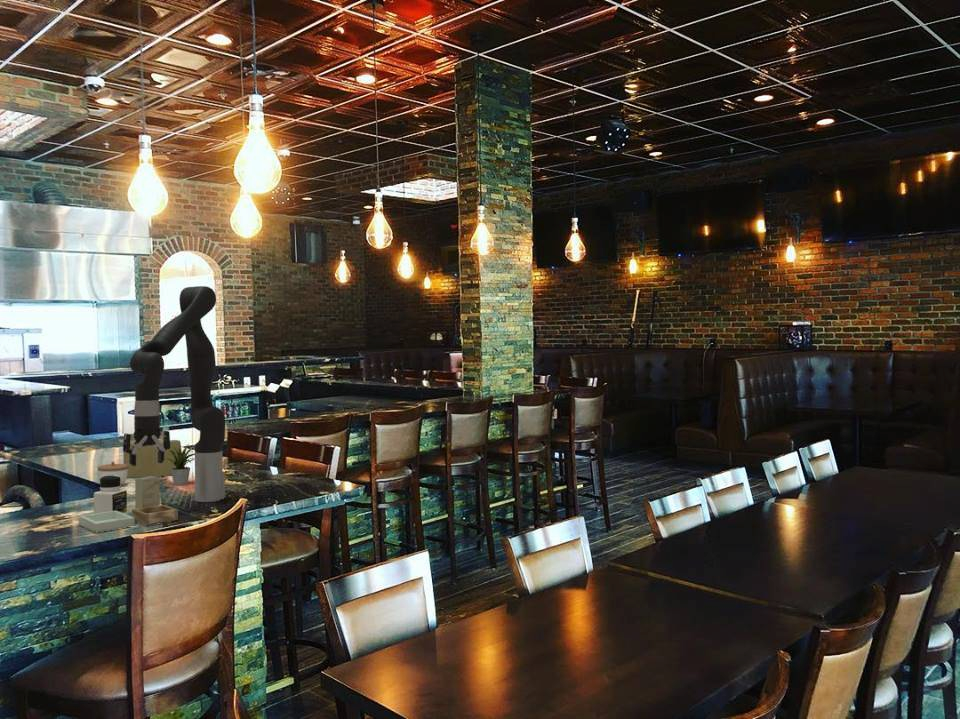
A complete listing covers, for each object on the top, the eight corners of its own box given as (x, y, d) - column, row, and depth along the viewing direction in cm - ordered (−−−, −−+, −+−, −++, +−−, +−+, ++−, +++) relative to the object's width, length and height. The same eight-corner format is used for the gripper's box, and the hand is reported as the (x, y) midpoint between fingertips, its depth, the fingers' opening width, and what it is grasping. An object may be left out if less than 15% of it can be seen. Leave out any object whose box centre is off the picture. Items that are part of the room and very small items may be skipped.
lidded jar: (134, 484, 300) (134, 460, 299) (111, 489, 290) (110, 464, 290) (115, 482, 304) (115, 458, 304) (91, 487, 294) (91, 462, 294)
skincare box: (143, 517, 244) (142, 479, 244) (134, 516, 246) (134, 478, 246) (160, 514, 249) (160, 476, 249) (152, 512, 252) (151, 475, 251)
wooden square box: (163, 515, 247) (163, 504, 246) (177, 521, 240) (177, 509, 240) (132, 521, 239) (131, 509, 239) (145, 526, 232) (145, 514, 232)
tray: (116, 519, 242) (116, 510, 242) (134, 526, 232) (134, 517, 232) (78, 525, 234) (78, 516, 234) (96, 533, 224) (96, 523, 224)
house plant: (185, 488, 292) (185, 446, 291) (153, 487, 294) (152, 444, 294) (206, 482, 306) (206, 441, 305) (175, 480, 308) (174, 440, 308)
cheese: (185, 474, 325) (185, 438, 324) (178, 478, 315) (178, 441, 315) (131, 474, 322) (130, 439, 322) (122, 478, 313) (122, 442, 312)
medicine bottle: (112, 515, 247) (112, 478, 247) (93, 514, 248) (93, 477, 248) (127, 510, 254) (127, 474, 254) (108, 509, 255) (107, 473, 255)
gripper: (163, 412, 255) (163, 460, 255) (119, 414, 245) (119, 465, 245) (173, 413, 250) (173, 463, 250) (129, 416, 239) (129, 468, 240)
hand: (147, 464), depth 247 cm, fingers open, 8 cm apart
